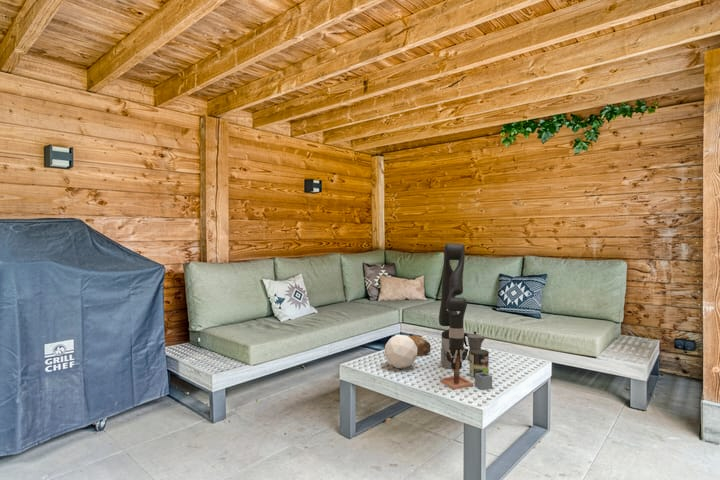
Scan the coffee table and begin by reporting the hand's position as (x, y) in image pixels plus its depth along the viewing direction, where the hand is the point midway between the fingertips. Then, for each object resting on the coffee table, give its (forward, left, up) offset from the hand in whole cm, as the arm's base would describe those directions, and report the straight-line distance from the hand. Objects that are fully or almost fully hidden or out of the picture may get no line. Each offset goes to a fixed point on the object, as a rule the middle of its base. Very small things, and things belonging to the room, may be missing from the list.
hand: (456, 368), depth 215 cm
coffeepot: (-32, +35, -9) cm, 48 cm away
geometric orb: (-37, -13, -9) cm, 40 cm away
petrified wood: (-60, +11, -9) cm, 62 cm away
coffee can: (-6, +19, -9) cm, 22 cm away
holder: (+9, +10, -9) cm, 16 cm away
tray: (0, 0, -9) cm, 9 cm away
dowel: (0, 0, -7) cm, 7 cm away
